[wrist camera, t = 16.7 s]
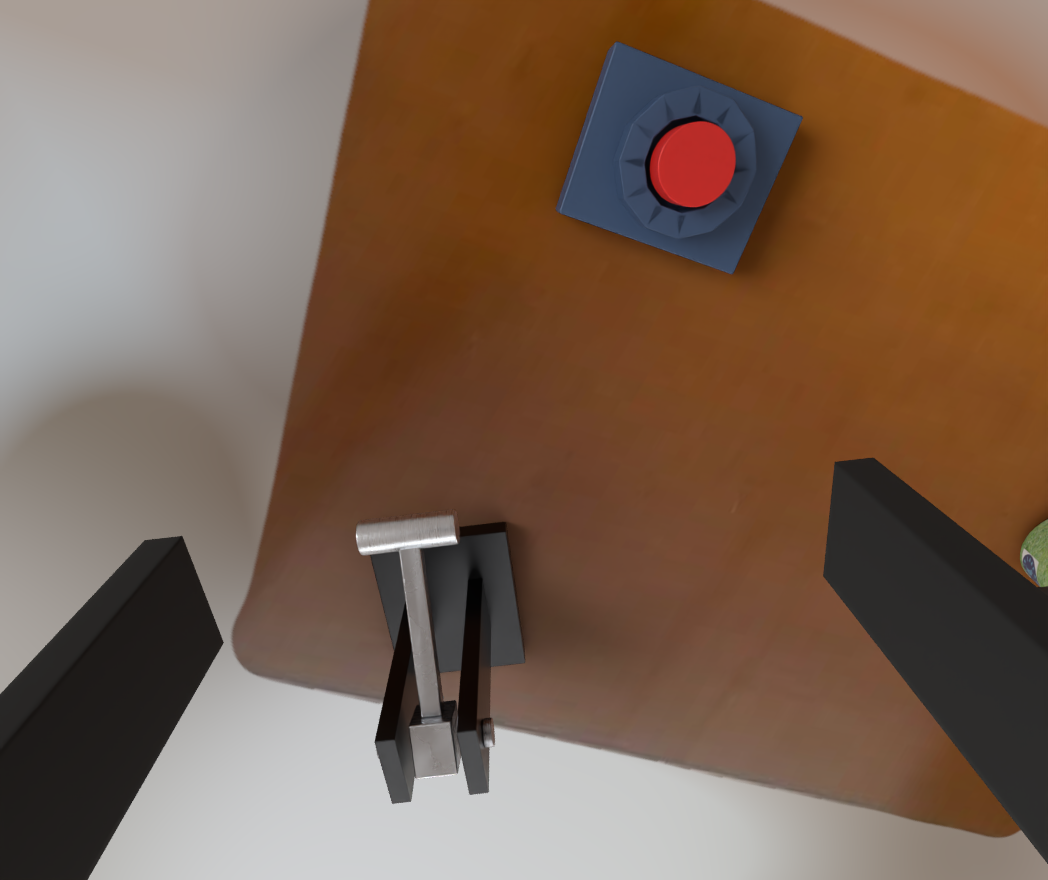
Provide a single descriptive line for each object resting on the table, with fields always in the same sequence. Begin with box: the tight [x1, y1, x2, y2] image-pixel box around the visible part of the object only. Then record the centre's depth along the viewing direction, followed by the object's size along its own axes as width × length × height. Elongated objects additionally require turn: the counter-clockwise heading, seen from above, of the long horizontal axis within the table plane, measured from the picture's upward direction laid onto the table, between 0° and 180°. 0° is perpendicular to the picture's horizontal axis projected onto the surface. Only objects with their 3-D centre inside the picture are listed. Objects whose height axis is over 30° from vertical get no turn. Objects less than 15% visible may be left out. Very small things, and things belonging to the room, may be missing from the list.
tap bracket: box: [370, 522, 525, 804], centre depth 38 cm, size 11×9×14 cm
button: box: [650, 121, 736, 207], centre depth 30 cm, size 4×4×2 cm
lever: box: [356, 509, 461, 779], centre depth 33 cm, size 13×5×2 cm, turn 6°
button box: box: [556, 42, 803, 274], centre depth 32 cm, size 10×8×4 cm
